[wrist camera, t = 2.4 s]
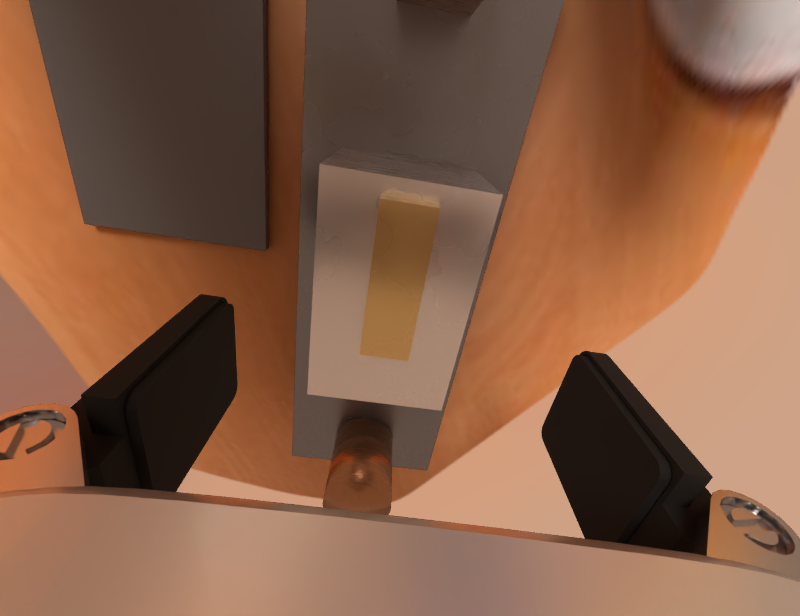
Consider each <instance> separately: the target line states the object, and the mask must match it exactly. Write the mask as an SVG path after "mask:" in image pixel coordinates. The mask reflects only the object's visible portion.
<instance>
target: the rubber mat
mask: <svg viewBox="0 0 800 616" xmlns="http://www.w3.org/2000/svg"><path fill="white" fill-rule="evenodd" d="M29 3H30V7H31V11H32V15H33V19H34V23H35V27H36V31H37V35H38V39H39V43H40V47H41V51H42V55H43V59H44V63H45V67H46V71H47V75H48V79H49V83H50V87H51V91H52V95H53V99H54V103H55V107H56V111H57V115H58V119H59V123H60V127H61V131H62V136H63V140H64V144H65V148H66V152H67V156H68V160H69V164H70V168H71V172H72V176H73V180H74V184H75V188H76V192H77V196H78V200H79V204H80V208H81V212H82V216H83V220H84V224H89V225H95V226H102V227H109V228H115V229H122V230H129V231H135V232H142V233H149V234H155V235H162V236H169V237H175V238H182V239H189V240H195V241H202V242H209V243H216V244H222V245H229V246H236V247H242V248H249V249H256V250H262V251H266V250H267V249H268V248H269V217H268V103H267V0H29Z"/></svg>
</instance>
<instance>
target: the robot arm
mask: <svg viewBox="0 0 800 616" xmlns="http://www.w3.org/2000/svg"><path fill="white" fill-rule="evenodd" d="M236 391H237V367H236V346H235V325H234V308H233V305H232V304H228V303H227V300H226V299H225V298H224V297H217V296H210V295H204V294H201V295H199V296H198V297H197V298H195V299H194V300H193V301H192V302H191V303H189V304H188V305H187V306H186V307H185V308H184V309H182V310H181V311H180V312H179V313H178V314H176V315H175V316H174V317H173V318H172V319H171V320H169V321H168V322H167V323H166V324H165V325H163V326H162V327H161V328H160V329H159V330H157V331H156V332H155V333H154V334H153V335H152V336H150V337H149V338H148V339H147V340H146V341H144V342H143V343H142V344H141V345H140V346H138V347H137V348H136V349H135V350H134V351H133V352H131V353H130V354H129V355H128V356H127V357H125V358H124V359H123V360H122V361H121V362H120V363H118V364H117V365H116V366H115V367H114V368H112V369H111V370H110V371H109V372H108V373H106V374H105V375H104V376H103V377H102V378H101V379H99V380H98V381H97V382H96V383H95V384H93V385H92V386H91V387H90V388H89V389H88V390H86V391H85V392H84V393H83V394H82V395H81V397H82V398H81V399H80V400H79V401H78V402H77V403H75V404H74V405H73V406H72V407H71V408H69V407H67V406H63V405H59V404H38V405H32V406H26V407H22V408H19V409H16V410H12V411H9V412H6V413H4V414H2V415H0V616H800V538H799V537H798V536H797V534H796V533H795V532H794V531H793V530H792V528H790V527H789V526H788V525H787V524H786V523H785V522H784V521H783V520H782V519H781V518H780V517H778V516H777V515H776V514H775V513H773V512H772V511H771V510H769V509H768V508H767V507H765V506H763V505H762V504H760V503H758V502H757V501H755V500H753V499H751V498H749V497H747V496H745V495H743V494H740V493H737V492H733V491H730V490H718V491H716V492H713V494H712V495H711V494H710V493H709V491H708V490H707V489H706V488H705V486H706V485H707V484H708V483H709V481H710V480H711V479H712V476H711V475H710V473H709V472H708V471H707V470H706V469H705V468H704V467H703V465H702V464H701V463H700V462H699V461H698V459H697V458H696V457H695V456H694V455H693V454H692V453H691V451H690V450H689V449H688V448H687V447H686V446H685V444H684V443H683V442H682V441H681V440H680V438H679V437H678V436H677V435H676V434H675V433H674V432H673V430H672V429H671V428H670V427H669V426H668V425H667V423H666V422H665V421H664V420H663V419H662V418H661V416H660V415H659V414H658V413H657V412H656V411H655V409H654V408H653V407H652V406H651V405H650V404H649V402H648V401H647V400H646V399H645V398H644V397H643V396H642V394H641V393H640V392H639V391H638V390H637V388H636V387H635V386H634V385H633V384H632V383H631V381H630V380H629V379H628V378H627V377H626V376H625V375H624V373H623V372H622V371H621V370H620V369H619V368H618V366H617V365H616V364H615V363H614V362H613V361H612V359H611V358H610V357H609V356H608V355H607V354H602V353H595V352H589V351H584V352H582V353H581V354H580V355H576V356H575V357H574V358H573V359H572V362H571V364H570V366H569V368H568V370H567V373H566V375H565V377H564V379H563V382H562V384H561V386H560V388H559V391H558V393H557V395H556V398H555V400H554V402H553V404H552V406H551V409H550V411H549V413H548V415H547V417H546V420H545V422H544V424H543V427H542V439H543V441H544V444H545V446H546V449H547V451H548V453H549V455H550V458H551V460H552V463H553V465H554V467H555V470H556V472H557V474H558V477H559V479H560V481H561V484H562V486H563V488H564V491H565V493H566V495H567V498H568V500H569V502H570V505H571V507H572V509H573V512H574V514H575V516H576V519H577V521H578V523H579V526H580V528H581V530H582V533H583V535H584V537H585V539H582V538H574V537H566V536H558V535H550V534H542V533H534V532H525V531H518V530H510V529H501V528H493V527H484V526H476V525H467V524H459V523H451V522H442V521H434V520H425V519H416V518H408V517H399V516H390V515H382V514H374V513H365V512H357V511H348V510H339V509H330V508H321V507H311V506H302V505H294V504H284V503H276V502H267V501H258V500H249V499H240V498H231V497H222V496H211V495H200V494H190V493H179V492H176V491H177V489H178V487H179V486H180V484H181V483H182V481H183V479H184V478H185V476H186V474H187V473H188V471H189V470H190V468H191V467H192V465H193V463H194V462H195V460H196V459H197V457H198V455H199V454H200V452H201V450H202V449H203V447H204V446H205V444H206V442H207V441H208V439H209V438H210V436H211V434H212V433H213V431H214V430H215V428H216V426H217V425H218V423H219V421H220V420H221V418H222V417H223V415H224V413H225V412H226V410H227V409H228V407H229V405H230V404H231V402H232V401H233V399H234V397H235V394H236Z"/></svg>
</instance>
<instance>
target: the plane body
mask: <svg viewBox="0 0 800 616" xmlns="http://www.w3.org/2000/svg"><path fill="white" fill-rule="evenodd" d="M563 3H564V0H307V6H306V38H305V69H304V101H303V132H302V164H301V195H300V227H299V258H298V290H297V321H296V353H295V384H294V416H293V447H292V455H293V456H302V457H311V458H320V459H329V460H331V464H330V469H329V474H328V479H327V484H326V489H325V494H324V500H323V508H330V509H339V510H348V511H357V512H365V513H374V514H382V515H388V514H389V513H390V509H391V484H392V466H393V467H402V468H411V469H420V470H427V469H428V465H429V462H430V458H431V455H432V451H433V448H434V445H435V441H436V438H437V434H438V431H439V427H440V424H441V421H442V417H443V414H444V410H445V407H446V403H447V400H448V397H449V393H450V390H451V386H452V383H453V379H454V376H455V373H456V369H457V366H458V362H459V359H460V355H461V352H462V349H463V345H464V342H465V338H466V335H467V331H468V328H469V325H470V321H471V318H472V314H473V311H474V307H475V304H476V301H477V297H478V294H479V290H480V287H481V283H482V280H483V277H484V273H485V270H486V266H487V263H488V260H489V256H490V253H491V249H492V246H493V242H494V239H495V236H496V232H497V229H498V225H499V222H500V218H501V215H502V212H503V208H504V205H505V201H506V198H507V194H508V191H509V188H510V184H511V181H512V177H513V174H514V170H515V167H516V164H517V160H518V157H519V153H520V150H521V146H522V143H523V140H524V136H525V133H526V129H527V126H528V122H529V119H530V116H531V112H532V109H533V105H534V102H535V98H536V95H537V92H538V88H539V85H540V81H541V78H542V74H543V71H544V68H545V64H546V61H547V57H548V54H549V50H550V47H551V44H552V40H553V37H554V33H555V30H556V26H557V23H558V20H559V16H560V13H561V9H562V6H563ZM343 147H344V148H350V149H355V150H361V151H367V152H373V153H379V154H384V155H390V156H396V157H402V158H407V159H413V160H419V161H425V162H431V163H436V164H442V165H448V166H454V167H460V168H465V169H471V170H475V171H476V172H477V173H479V174H480V175H481V176H482V177H483V178H484V179H485V180H487V181H488V182H489V183H490V184H491V185H492V186H494V187H495V188H496V189H497V190H498V191H499V192H500V193H502V194H503V197H502V201H501V204H500V208H499V211H498V215H497V218H496V222H495V225H494V229H493V232H492V236H491V239H490V243H489V246H488V250H487V253H486V257H485V260H484V264H483V267H482V271H481V274H480V278H479V281H478V285H477V288H476V292H475V295H474V299H473V302H472V305H471V309H470V312H469V316H468V319H467V323H466V326H465V330H464V333H463V337H462V340H461V344H460V347H459V351H458V354H457V358H456V361H455V365H454V368H453V372H452V375H451V379H450V382H449V386H448V389H447V393H446V396H445V400H444V403H443V407H442V410H441V411H440V410H432V409H423V408H415V407H407V406H399V405H391V404H383V403H375V402H367V401H358V400H350V399H342V398H334V397H326V396H318V395H310V394H307V389H308V370H309V351H310V333H311V314H312V295H313V277H314V258H315V239H316V221H317V202H318V183H319V165H320V163H322V162H323V161H324V160H326V159H327V158H329V157H330V156H332V155H333V154H334V153H336V152H337V151H339V150H340V149H341V148H343Z"/></svg>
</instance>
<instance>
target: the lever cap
mask: <svg viewBox="0 0 800 616" xmlns="http://www.w3.org/2000/svg"><path fill="white" fill-rule="evenodd" d="M502 197H503V194H502V193H500V192H499V191H498V190H497V189H496V188H495V187H494V186H492V185H491V184H490V183H489V182H488V181H487V180H485V179H484V178H483V177H482V176H481V175H480V174H479V173H477V172H476V171H475V170H471V169H465V168H460V167H454V166H448V165H442V164H436V163H431V162H425V161H419V160H413V159H407V158H402V157H396V156H390V155H384V154H379V153H373V152H367V151H361V150H355V149H350V148H344V147H343V148H341V149H340V150H339V151H337V152H336V153H334V154H333V155H332V156H330V157H329V158H327V159H326V160H324V161H323V162H322V163H320V165H319V183H318V202H317V221H316V239H315V258H314V277H313V295H312V314H311V333H310V351H309V370H308V389H307V394H310V395H318V396H326V397H334V398H342V399H350V400H358V401H367V402H375V403H383V404H391V405H399V406H407V407H415V408H423V409H432V410H440V411H441V410H442V407H443V403H444V400H445V396H446V393H447V389H448V386H449V382H450V379H451V375H452V372H453V368H454V365H455V361H456V358H457V354H458V351H459V347H460V344H461V340H462V337H463V333H464V330H465V326H466V323H467V319H468V316H469V312H470V309H471V305H472V302H473V299H474V295H475V292H476V288H477V285H478V281H479V278H480V274H481V271H482V267H483V264H484V260H485V257H486V253H487V250H488V246H489V243H490V239H491V236H492V232H493V229H494V225H495V222H496V218H497V215H498V211H499V208H500V204H501V201H502Z"/></svg>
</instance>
